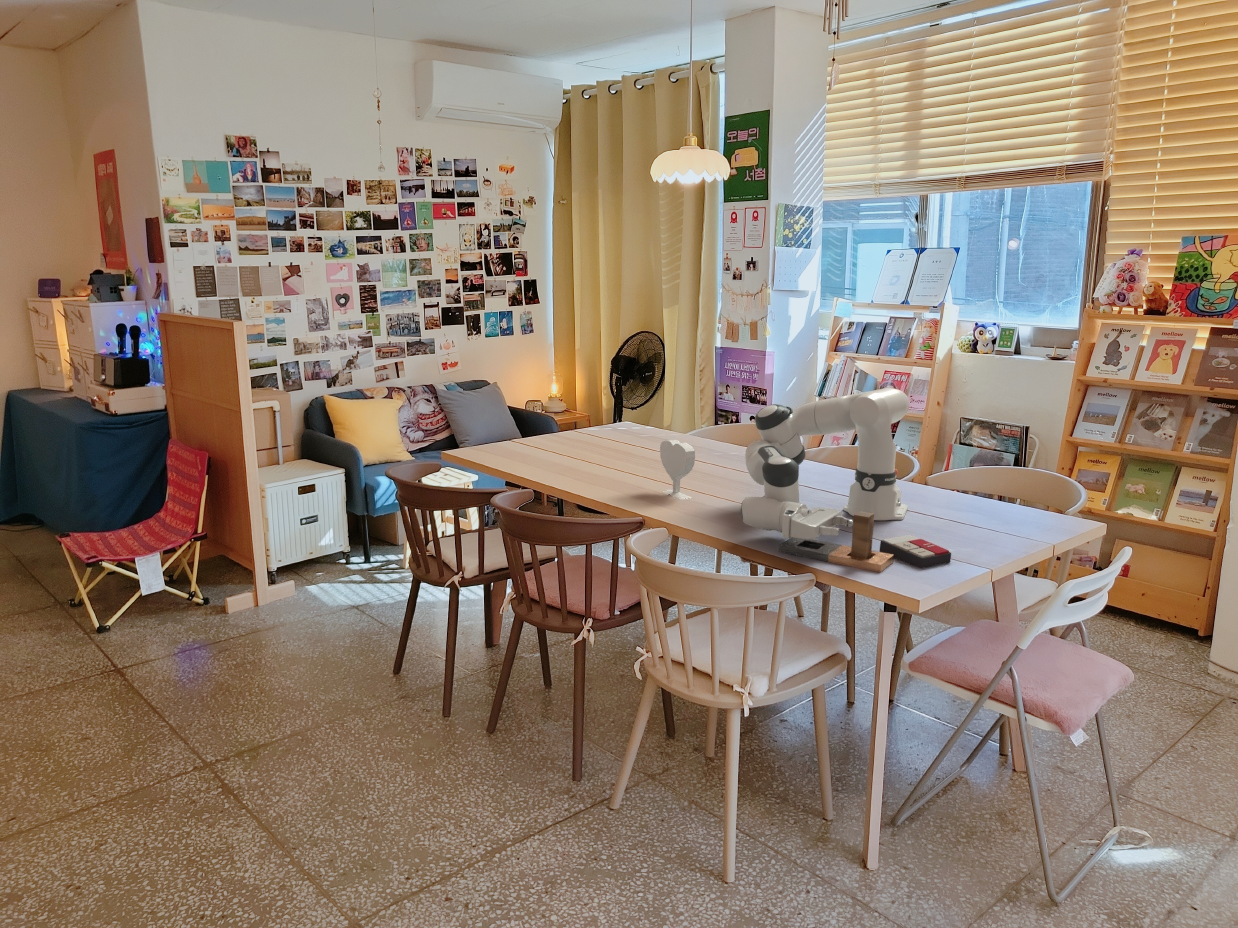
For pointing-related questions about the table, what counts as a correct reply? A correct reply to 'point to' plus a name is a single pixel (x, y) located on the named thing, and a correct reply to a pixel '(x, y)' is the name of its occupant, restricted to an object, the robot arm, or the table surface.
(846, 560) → the peg board
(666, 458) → the heart sculpture
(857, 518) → the walnut peg
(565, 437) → the table surface
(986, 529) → the table surface
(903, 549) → the calculator
